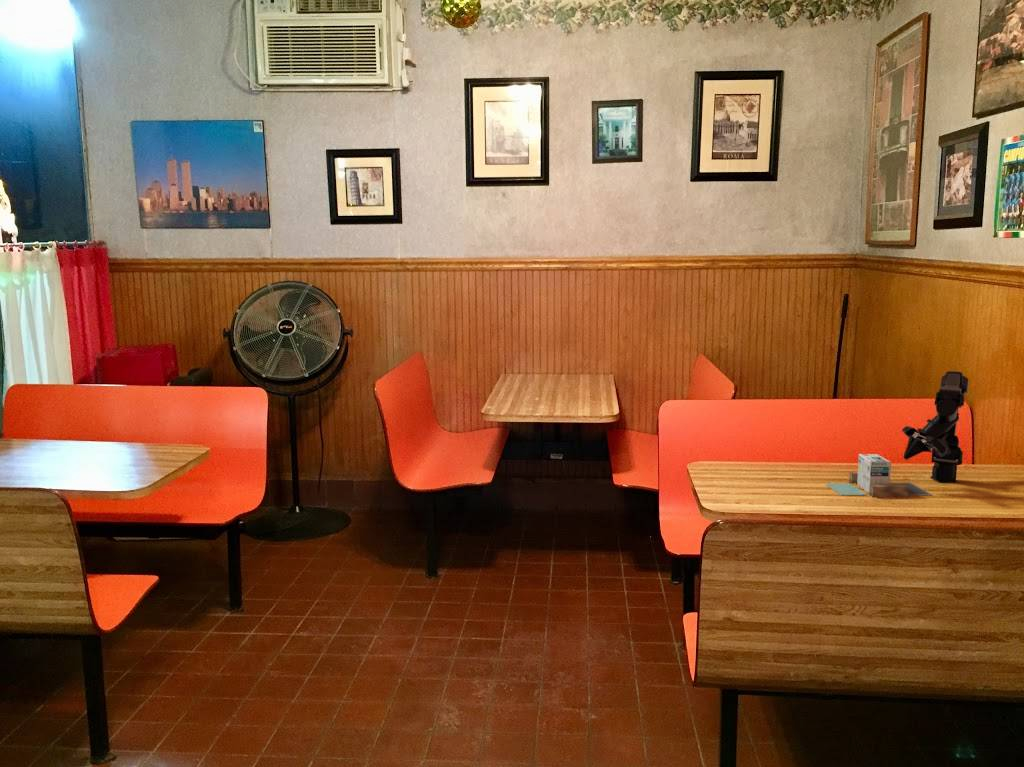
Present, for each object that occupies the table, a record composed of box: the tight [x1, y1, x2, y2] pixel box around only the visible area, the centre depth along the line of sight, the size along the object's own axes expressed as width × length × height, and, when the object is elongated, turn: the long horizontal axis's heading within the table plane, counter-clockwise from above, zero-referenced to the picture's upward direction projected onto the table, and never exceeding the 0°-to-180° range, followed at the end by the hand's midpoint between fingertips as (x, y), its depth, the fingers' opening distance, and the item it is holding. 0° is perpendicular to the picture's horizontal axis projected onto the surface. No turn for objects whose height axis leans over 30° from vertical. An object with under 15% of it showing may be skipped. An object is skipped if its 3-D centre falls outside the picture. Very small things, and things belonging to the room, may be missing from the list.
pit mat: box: [890, 482, 933, 496], centre depth 275 cm, size 8×14×1 cm, turn 1°
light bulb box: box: [856, 453, 892, 495], centre depth 274 cm, size 11×7×11 cm, turn 179°
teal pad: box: [825, 482, 867, 497], centre depth 275 cm, size 8×13×1 cm, turn 2°
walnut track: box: [848, 471, 908, 498], centre depth 275 cm, size 11×18×4 cm, turn 2°
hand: (904, 458), depth 273 cm, fingers closed
